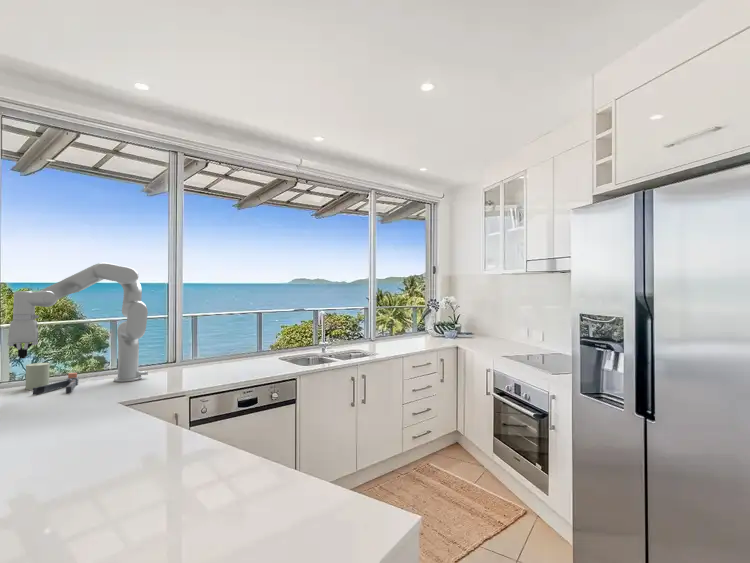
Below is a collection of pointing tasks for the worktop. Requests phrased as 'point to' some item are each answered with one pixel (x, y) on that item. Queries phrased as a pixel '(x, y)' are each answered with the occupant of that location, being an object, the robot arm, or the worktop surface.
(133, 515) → the worktop surface
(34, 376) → the can
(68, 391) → the tongs fixed
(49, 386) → the bar
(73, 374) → the tab
